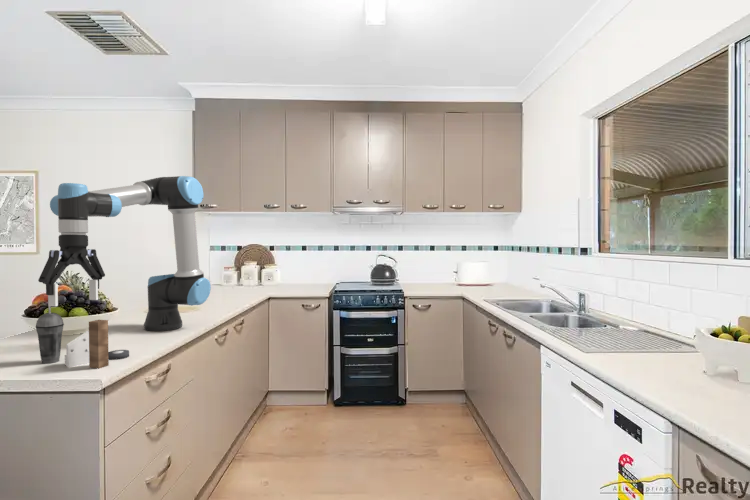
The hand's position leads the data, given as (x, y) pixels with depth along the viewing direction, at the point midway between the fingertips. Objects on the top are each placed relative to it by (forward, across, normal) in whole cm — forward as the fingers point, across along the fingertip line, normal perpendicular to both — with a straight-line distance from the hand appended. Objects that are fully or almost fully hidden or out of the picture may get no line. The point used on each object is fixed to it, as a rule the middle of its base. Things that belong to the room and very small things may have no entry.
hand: (74, 302), depth 135 cm
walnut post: (+19, 0, +9) cm, 21 cm away
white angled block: (+19, 0, 0) cm, 19 cm away
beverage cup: (+19, 0, -10) cm, 22 cm away
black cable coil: (+19, -10, +6) cm, 22 cm away
